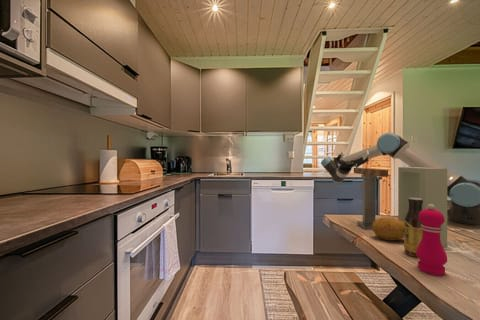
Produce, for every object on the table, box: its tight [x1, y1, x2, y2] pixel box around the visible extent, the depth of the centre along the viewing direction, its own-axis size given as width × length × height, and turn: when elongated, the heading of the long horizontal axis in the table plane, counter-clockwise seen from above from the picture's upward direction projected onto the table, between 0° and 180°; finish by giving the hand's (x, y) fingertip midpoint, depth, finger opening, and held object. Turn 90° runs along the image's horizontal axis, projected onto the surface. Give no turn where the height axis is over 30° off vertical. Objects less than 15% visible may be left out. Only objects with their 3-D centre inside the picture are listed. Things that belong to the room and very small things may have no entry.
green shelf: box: [397, 166, 448, 247], centre depth 97 cm, size 17×8×30 cm, turn 176°
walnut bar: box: [353, 167, 389, 178], centre depth 113 cm, size 28×3×3 cm, turn 176°
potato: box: [372, 217, 404, 241], centre depth 95 cm, size 10×13×9 cm
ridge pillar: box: [356, 174, 378, 231], centre depth 113 cm, size 8×8×26 cm
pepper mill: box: [416, 204, 448, 276], centre depth 68 cm, size 7×7×20 cm
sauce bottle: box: [403, 198, 423, 258], centre depth 80 cm, size 6×6×20 cm
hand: (355, 152), depth 131 cm, fingers open, 13 cm apart
